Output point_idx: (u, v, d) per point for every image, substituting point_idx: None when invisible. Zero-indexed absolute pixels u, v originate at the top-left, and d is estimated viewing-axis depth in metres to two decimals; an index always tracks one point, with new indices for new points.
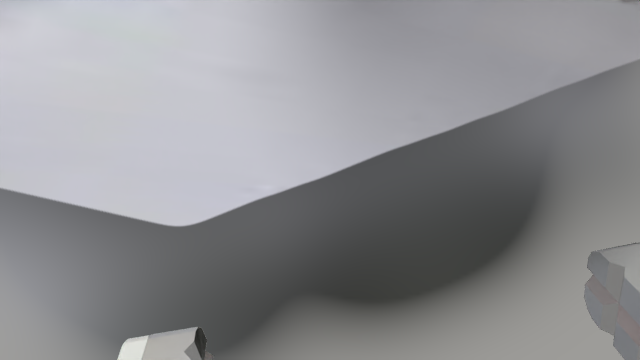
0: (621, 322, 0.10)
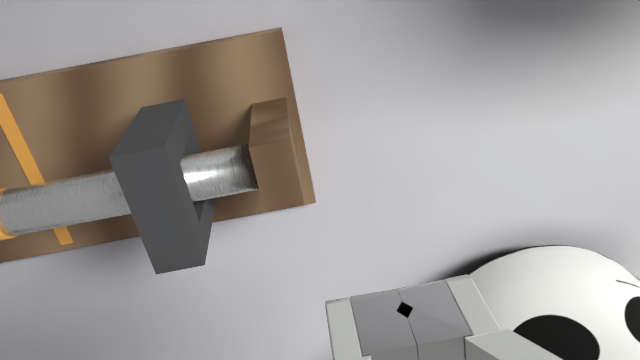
0: None
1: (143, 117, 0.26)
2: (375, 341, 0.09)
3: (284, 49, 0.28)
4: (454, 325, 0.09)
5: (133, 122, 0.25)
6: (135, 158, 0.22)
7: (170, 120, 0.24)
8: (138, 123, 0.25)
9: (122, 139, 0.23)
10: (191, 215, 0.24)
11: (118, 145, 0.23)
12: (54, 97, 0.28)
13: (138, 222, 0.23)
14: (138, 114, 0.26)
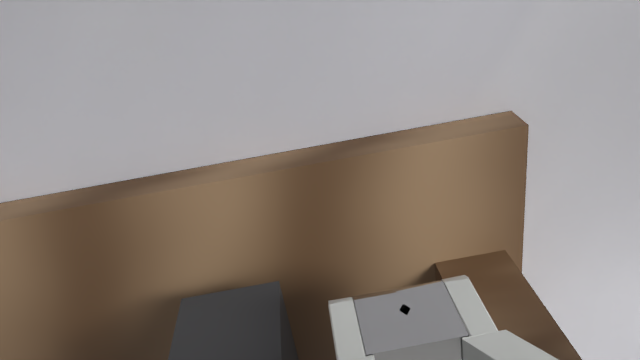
0: None
1: (192, 352, 0.11)
2: (378, 341, 0.09)
3: (523, 161, 0.13)
4: (451, 325, 0.09)
5: None
6: None
7: None
8: None
9: None
10: None
11: None
12: (26, 261, 0.13)
13: None
14: (178, 333, 0.11)
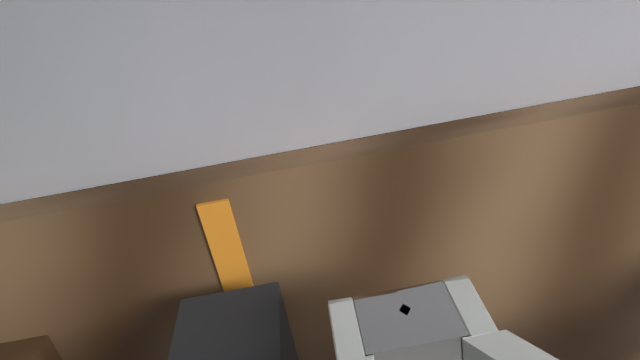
0: None
1: (191, 353, 0.11)
2: (378, 341, 0.09)
3: None
4: (452, 326, 0.09)
5: None
6: None
7: None
8: None
9: None
10: None
11: None
12: (336, 205, 0.13)
13: None
14: (177, 334, 0.11)
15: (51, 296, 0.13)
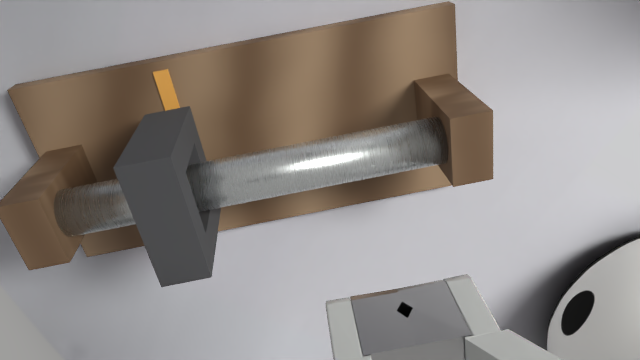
0: None
1: (147, 125, 0.25)
2: (375, 341, 0.09)
3: (454, 23, 0.27)
4: (454, 325, 0.09)
5: (137, 130, 0.24)
6: (140, 168, 0.21)
7: (175, 128, 0.24)
8: (142, 131, 0.24)
9: (126, 148, 0.23)
10: (197, 226, 0.23)
11: (122, 154, 0.22)
12: (220, 73, 0.27)
13: (143, 234, 0.22)
14: (142, 122, 0.25)
15: (84, 121, 0.28)
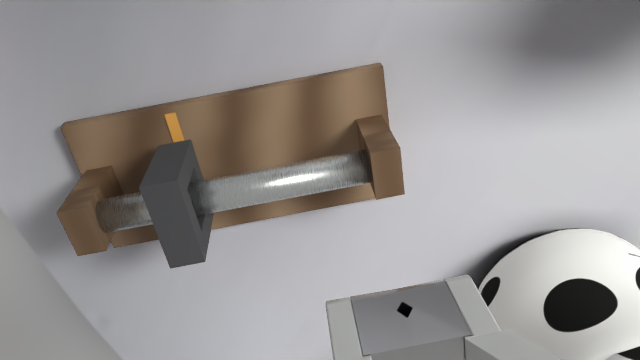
0: None
1: (160, 154, 0.35)
2: (375, 341, 0.09)
3: (383, 79, 0.37)
4: (454, 325, 0.09)
5: (153, 158, 0.35)
6: (157, 188, 0.31)
7: (180, 158, 0.34)
8: (157, 159, 0.35)
9: (147, 172, 0.33)
10: (195, 226, 0.34)
11: (144, 177, 0.32)
12: (213, 115, 0.38)
13: (158, 231, 0.33)
14: (156, 151, 0.36)
15: (114, 149, 0.38)
